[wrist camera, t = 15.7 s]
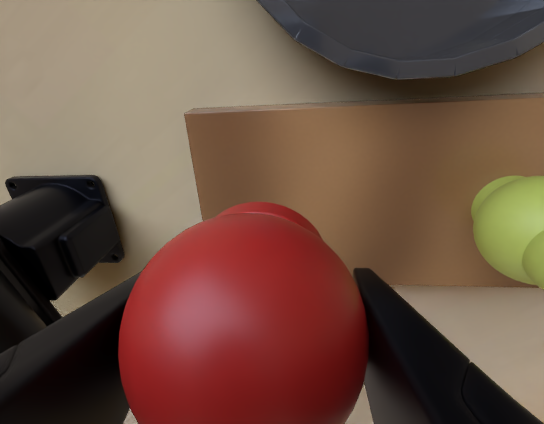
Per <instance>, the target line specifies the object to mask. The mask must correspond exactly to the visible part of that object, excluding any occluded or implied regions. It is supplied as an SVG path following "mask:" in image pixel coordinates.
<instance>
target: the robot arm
mask: <svg viewBox="0 0 544 424" xmlns="http://www.w3.org/2000/svg"><path fill="white" fill-rule="evenodd" d="M91 181H92V182H93V183H94V185H95V186H94V185H92V184H91ZM5 184H6V187H7V189H8V192H9V194H10V196H11V198H12V200H10V201H8V202H6V203H4V204H2V205H0V424H123V422H124V420H125V418H126V416H127V413H128V411H129V409H130V407H129V404H128V401H127V398H126V395H125V392H124V389H123V386H122V382H121V376H120V368H119V360H118V348H119V331H120V326H121V322H122V317H123V313H124V309H125V305H126V303H127V300H128V298H129V295H130V293H131V291H132V289H133V287H134V285H135V282H136V281H137V279H138V277H139V276H140V274H141V273H142V272H140V273H138V274H136V275H135V276H133V277H131V278H130V279H128V280H126V281H124V282H123V283H121V284H119V285H118V286H116V287H114V288H112V289H111V290H109V291H107V292H106V293H104V294H102V295H100V296H99V297H97V298H95V299H94V300H92V301H90V302H88V303H87V304H85V305H83V306H82V307H80V308H78V309H76V310H75V311H73V312H71V313H70V314H68V315H66V316H64V317H62V316H61V315H60V314H59V312H58V311H57V310H56V308H55V307H54V306H53V305H52V303H51V302H50V301H49V300H53V301H54V300H57V299H58V298H59V297H60V296H61V295H62V294H63V293H64V292H65V291H66V290H67V289H68V288H69V287H70V286H71V285H72V284H73V283H74V282H75V281H76V280H77V279H78V278H79V277H84V276H85V275H86V274H87V273H88V272H89V271H90V270H91V269H92V268H93V267H94V266H95V265H96V264H97V263H98V262H100V263H118V262H120V261H121V260H122V259H123V258H124V252H123V248H122V245H121V242H120V238H119V234H118V231H117V228H116V225H115V222H114V218H113V215H112V212H111V209H110V207H109V204H108V201H107V197H106V194H105V191H104V188H103V185H102V182H101V180H100V179H99V178H98V177H97V176H95V175H69V176H20V177H12V178H9V179H7V180H6V182H5ZM115 254H116V255H117V256H116V255H115ZM352 277H353V279H354V281H355V283H356V285H357V287H358V290H359V292H360V295H361V298H362V301H363V304H364V307H365V311H366V318H367V324H368V331H369V355H368V364H367V369H366V374H365V378H364V384H365V388H366V393H367V397H368V401H369V405H370V409H371V414H372V418H373V422H374V424H544V423H542V422H541V421H540V420H539V419H538V418H536V417H535V416H534V415H533V414H531V413H530V412H529V411H528V410H527V409H525V408H524V407H523V406H522V405H520V404H519V403H518V402H517V401H516V400H514V399H513V398H512V397H511V396H510V395H509V394H508V393H506V392H505V391H504V390H503V389H502V388H501V387H500V386H498V385H497V384H496V383H495V382H494V381H493V380H492V379H490V378H489V377H488V376H487V375H486V374H485V373H484V372H483V371H482V370H481V369H480V368H478V367H477V366H476V365H475V364H474V363H473V362H470V360H469V359H468V358H467V357H466V356H465V355H464V354H463V353H462V352H461V351H460V350H459V349H458V348H456V347H455V346H454V345H453V344H452V343H451V342H450V341H449V340H448V339H447V338H446V337H444V336H443V335H442V334H441V333H440V332H439V331H438V330H437V329H436V328H435V327H434V326H432V325H431V324H430V323H429V322H428V321H427V320H426V319H425V318H424V317H423V316H422V315H420V314H419V313H418V312H417V311H416V310H415V309H414V308H413V307H412V306H411V305H410V304H409V303H407V302H406V301H405V300H404V299H403V298H402V297H401V296H400V295H399V294H398V293H397V292H395V291H394V290H393V289H392V288H391V287H390V286H389V285H388V284H387V283H386V282H385V281H383V280H382V279H381V278H380V277H379V276H378V275H377V274H376V273H375V272H374V271H373V270H371V269H370V268H354V269H353V275H352ZM469 362H470V363H469Z"/></svg>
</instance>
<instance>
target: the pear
mask: <svg viewBox="0 0 544 424" xmlns="http://www.w3.org/2000/svg"><path fill="white" fill-rule="evenodd" d="M471 215H472V219H473V221H474V224H473V234H474V240H475V243H476V245H477V248H478V250H479V251H480V253H481V255H482V256H483V258H484V259H485V260H486V261H487V262H488V263H489V264H490V265H491V266H492V267H493V268H494V269H496V270H497V271H499V272H500V273H502V274H503V275H505V276H507V277H509V278H512V279H514V280H517V281H520V282H523V283H527V284H532V285H537V286H538V287H540V288H542V289H543V290H544V176H530V177H524V176H506V177H502V178H499V179H496V180H494V181H492V182H491V183H489V184H487V185H486V186H485V187H484V188H482V189H481V190H480V192H479V193H478V194H477V195H476V197H475V199H474V201H473V203H472V207H471Z"/></svg>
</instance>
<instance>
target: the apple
mask: <svg viewBox="0 0 544 424" xmlns="http://www.w3.org/2000/svg"><path fill="white" fill-rule="evenodd" d="M368 355H369V331H368V324H367V318H366V311H365V307H364V304H363V301H362V298H361V295H360V292H359V290H358V287H357V285H356V283H355V281H354V279H353V277H352V276H351V274H350V272H349V270H348V269H347V267H346V265H345V264H344V263H343V261H342V260H341V259H340V258H339V256H338V255H337V254H336V253H335V252H334V251H333V250H332V249H331V248H330V247H329V246H328V245H327V244H326V243H325V242H324V241H323V239H322V237H321V236H320V234H319V232H318V231H317V229H316V228H315V227H314V226H313V225H312V224H311V223H310V222H309V221H308V220H307V219H306V218H305V217H303V216H302V215H301V214H299V213H297V212H296V211H294V210H292V209H290V208H287V207H285V206H282V205H279V204H275V203H269V202H248V203H243V204H239V205H236V206H233V207H230V208H228V209H226V210H224V211H223V212H221V213H220V214H219V215H217V216H216V217H214V218H211V219H208V220H205V221H203V222H201V223H198V224H196V225H194V226H192V227H190V228H188V229H186V230H185V231H183V232H182V233H180V234H179V235H177V236H176V237H175V238H173V239H172V240H171V241H169V242H168V243H167V244H166V245H165V246H164V247H162V248H161V249H160V250H159V251H158V252H157V253H156V255H155V256H154V257H153V258H152V259H151V260H150V261H149V263H148V264H147V265H146V267H145V268H144V270H143V271H142V273H141V274H140V276H139V277H138V279H137V281H136V282H135V285H134V287H133V289H132V291H131V293H130V295H129V298H128V300H127V303H126V305H125V309H124V313H123V317H122V322H121V326H120V331H119V348H118V360H119V368H120V376H121V382H122V386H123V389H124V392H125V395H126V398H127V401H128V404H129V407H130V409H131V411H132V413H133V415H134V416H135V418H136V420H137V422H138V424H344V423H345V422H346V420H347V419H348V417H349V415H350V414H351V412H352V411H353V409H354V406H355V404H356V402H357V399H358V397H359V394H360V392H361V389H362V387H363V383H364V378H365V374H366V369H367V364H368Z"/></svg>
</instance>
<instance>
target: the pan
mask: <svg viewBox="0 0 544 424" xmlns="http://www.w3.org/2000/svg"><path fill="white" fill-rule="evenodd" d="M256 1H257V2H258V3H259V4H260V5H261V6H262V7H263V8H264V9H265V10H266V11H267V12H268V13H269V14H270V15H271V16H272V17H273V18H274V19H275V20H276V21H277V22H278V23H279V24H280V25H281V26H282V28H283V29H284V30H285V31H286V32H287V33H288V34H289V35H290V36H291V37H292V38H293V39H294V40H296V41H297V42H298V43H300V44H302V45H303V46H305V47H307V48H308V49H310V50H312V51H314V52H315V53H317V54H319V55H321V56H322V57H324V58H326V59H328V60H329V61H331V62H333V63H335V64H337V65H339V66H341V67H343V68H347V69H351V70H355V71H359V72H364V73H368V74H372V75H377V76H381V77H385V78H389V79H397V80H405V79H424V78H443V77H453V76H459V75H462V74H465V73H469V72H472V71H475V70H478V69H481V68H485V67H488V66H491V65H494V64H498V63H501V62H504V61H507V60H510V59H514V58H516V57H518V56H520V55H522V54H524V53H526V52H527V51H529V50H531V49H533V48H534V47H536V46H538V45H540V44H541V43H543V42H544V0H256Z"/></svg>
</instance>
